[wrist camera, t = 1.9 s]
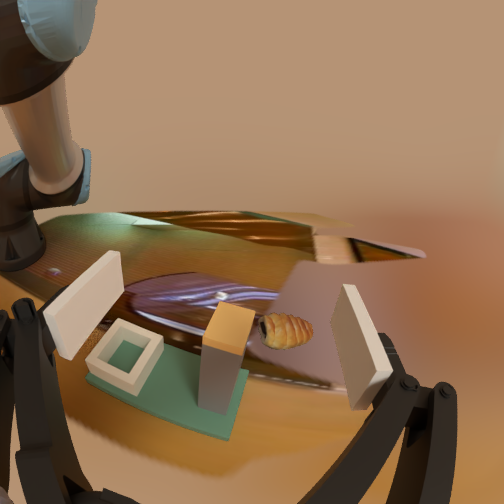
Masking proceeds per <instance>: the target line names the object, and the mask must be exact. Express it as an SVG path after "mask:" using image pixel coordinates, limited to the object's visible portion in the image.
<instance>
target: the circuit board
mask: <svg viewBox="0 0 504 504" xmlns="http://www.w3.org/2000/svg"><path fill="white" fill-rule="evenodd" d="M144 350H145V349H144V348H141V347H139V346H137V345H134V344H132V343H130V342H127V341H125V340H123V341H122V343H121V344H120V346H119V347H118V348H117V350H116V351H115V352H114V354H113V355H112V357H111V358H110V359H109V361H108V362H107V363H108V364H110V365H112V366H114V367H116V368H118V369H120V370H122V371H124V372H126V373H128V374H129V373H130V372H131V370H132V368H133V367H134V365H135V364H136V362H137V361H138V359H139V357H140V356H141V354H142V353H143V351H144ZM200 364H201V356H199V355H196V354H193V353H190V352H187V351H184V350H181V349H179V348H176V347H173V346H171V345H168V344H165V343H164V350H163V352H162V354H161V355H160V357H159V359H158V361H157V362H156V364H155V366H154V368H153V369H152V371H151V373H150V374H149V376H148V378H147V380H146V381H145V383H144V385H143V387H142V388H141V390H140V392H139V394H138V395H137V397H136V396H134V395H132V394H130V393H128V392H126V391H124V390H122V389H120V388H118V387H116V386H114V385H112V384H110V383H108V382H106V381H104V380H103V379H101V378H99V377H97V376H95V375H93V374H92V373H90V371H89V372H88V374H87V375H86V377H85V379H86V381H87V382H88V383H90V384H91V385H93V386H95V387H97V388H98V389H100V390H102V391H104V392H106V393H108V394H109V395H111V396H113V397H115V398H117V399H119V400H121V401H123V402H125V403H127V404H129V405H131V406H133V407H136V408H138V409H140V410H142V411H144V412H147V413H149V414H151V415H153V416H156V417H158V418H161V419H163V420H166V421H168V422H171V423H173V424H176V425H179V426H181V427H184V428H187V429H190V430H193V431H195V432H198V433H202V434H205V435H208V436H211V437H214V438H218V439H221V440H225V441H228V440H229V437H230V434H231V431H232V428H233V424H234V421H235V418H236V414H237V411H238V407H239V404H240V401H241V397H242V394H243V390H244V387H245V383H246V380H247V376H248V373H249V371H248V370H245V369H241V368H240V371H239V374H238V378H237V382H236V385H235V388H234V392H233V395H232V398H231V401H230V404H229V407H228V410H227V413H226V416H225V415H221V414H218V413H215V412H212V411H208V410H205V409H202V408H199V407H198V392H199V378H200Z"/></svg>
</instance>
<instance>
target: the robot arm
mask: <svg viewBox="0 0 504 504" xmlns="http://www.w3.org/2000/svg"><path fill="white" fill-rule="evenodd" d="M96 5H97V0H0V107H2V109H3V111H4V114H5V116H6V118H7V120H8V123H9V125H10V127H11V129H12V131H13V133H14V135H15V137H16V139H17V141H18V143H19V145H20V147H21V149H22V150H19V151H16V152H13V153H10V154H8V155H6V156H3V157H1V158H0V270H3V271H16V270H20V269H23V268H25V267H27V266H29V265H31V264H33V263H34V262H36V261H37V260H38V259H39V258H40V257H41V256H42V255H43V253H44V252H45V249H46V243H45V238H44V235H43V233H42V231H41V230H40V228H39V226H38V224H37V222H36V220H35V218H34V213H33V210H38V209H45V208H52V207H61V206H70V205H72V206H76V205H77V204H82V203H85V202H86V201H87V200H88V198H89V189H90V188H89V187H90V186H89V184H90V172H91V152H90V150H88V149H84V148H82V149H81V148H80V147H79V145H78V144H77V143H76V142H74V141H73V140H72V136H71V130H70V124H69V117H68V109H67V100H66V90H65V77H64V74H65V72H66V71H67V70H68V69H69V67H70V66H71V64H72V63H73V60H74V58H75V57H77V56H79V55H80V54H81V53H82V52H83V51H84V50H85V48H86V46H87V44H88V42H89V39H90V36H91V32H92V28H93V23H94V18H95V7H96ZM123 292H124V285H123V277H122V268H121V258H120V252H117V251H111V250H109V251H108V252H107V253H106V254H105V255H103V256H102V257H101V258H100V259H99V260H98V261H96V262H95V263H94V264H93V265H92V266H91V267H90V268H89V269H87V270H86V271H85V272H84V273H83V274H82V275H81V276H80V277H78V278H77V279H76V280H75V281H74V282H73V283H72V284H71V285H70V286H69V285H67V286H65V287H63V288H61V289H60V290H59V291H58V292H57V293H55V295H53V296H52V297H51V298H50V300H48V301H47V302H46V303H45V304H44V305H43V306H42V307H41V308H40V309H39V310H38V311H36V308H35V305H34V302H33V300H32V299H30V298H22V299H19V300H17V301H15V302H14V303H13V305H12V307H11V309H12V312H13V315H14V317H15V319H10V318H9V316H8V313H7V311H5V310H0V504H14V503H13V501H12V500H11V499H9V496H8V489H9V478H10V477H9V476H10V443H11V430H12V429H11V428H12V420H13V412H14V405H15V409H16V418H17V419H16V420H17V428H18V435H19V441H20V450H19V451H16V454H15V459H16V465H17V469H18V474H19V477H20V482H21V485H22V489H23V492H24V496H25V499H26V502H27V504H140V503H138V502H136V501H134V500H133V499H131V498H128V497H126V496H123V495H120V494H117V493H115V492H113V491H110V490H108V489H105V488H103V491H102V492H101V491H93V489H92V487H91V485H90V484H89V482H88V480H87V479H86V477H85V476H84V474H83V472H82V470H81V468H80V465H79V462H78V459H77V456H76V453H75V450H74V447H73V443H72V440H71V436H70V433H69V430H68V426H67V422H66V418H65V413H64V409H63V404H62V400H61V395H60V389H59V384H58V377H57V371H56V364H55V357H54V354H53V351H54V350H55V348H57V351H58V353H59V355H60V356H61V357H63V358H66V359H68V360H70V361H71V360H72V359H73V357H74V356H75V354H76V353H77V352H78V350H79V349H80V348H81V346H82V345H83V343H84V342H85V341H86V339H87V338H88V337H89V335H90V334H91V333H92V331H93V330H94V329H95V327H96V326H97V325H98V323H99V322H100V321H101V319H102V318H103V317H104V316H105V314H106V313H107V312H108V310H109V309H110V308H111V307H112V305H113V304H114V303H115V302H116V300H117V299H118V298H119V297H120V295H121V294H122V293H123ZM330 323H331V327H332V331H333V335H334V339H335V342H336V346H337V350H338V354H339V358H340V362H341V367H342V371H343V375H344V379H345V384H346V388H347V393H348V397H349V402H350V407H351V410H366V409H367V408H368V407H369V405H370V404H371V403H372V405H373V408H374V409H373V411H372V412H371V413H370V414H369V416H368V417H367V418H366V419H365V421H364V424H363V425H362V427H361V428H360V430H359V431H358V432H357V434H356V435H355V437H354V438H353V439H352V441H351V442H350V443H349V445H348V446H347V448H346V449H345V450H344V451H343V453H342V454H341V455H340V456H339V458H338V459H337V460H336V461H335V463H334V464H333V465H332V466H331V467H330V469H329V470H328V471H327V472H326V473H325V474H324V476H323V477H322V478H321V479H320V480H319V481H318V482H317V483H316V485H315V486H314V487H313V488H312V489H311V490H310V491H309V492H308V493H307V494H306V495H305V496H304V497H303V498H302V499H301V500H300V501H299V502H298V503H297V504H358V503H359V501H360V500H361V498H362V497H363V496H364V494H365V493H366V491H367V490H368V488H369V487H370V486H371V484H372V483H373V481H374V480H375V478H376V476H377V475H378V473H379V472H380V470H381V468H382V467H383V465H384V464H385V462H386V460H387V458H388V457H389V455H390V453H391V451H392V450H393V448H394V446H395V444H396V442H397V440H398V438H399V436H400V434H401V432H402V430H403V428H404V427H405V433H404V438H403V443H402V448H401V452H400V456H399V460H398V464H397V468H396V472H395V475H394V479H393V483H392V486H391V489H390V493H389V495H388V498H387V501H386V504H449V502H450V497H451V491H452V484H453V478H454V470H455V460H456V447H457V394H456V391H455V389H454V388H453V387H452V386H451V385H450V384H448V383H446V382H439V383H438V384H436V386H435V387H434V388H433V389H432V388H427V387H422V386H420V384H419V382H418V381H417V379H416V378H414V377H413V376H410V375H408V374H406V372H405V370H404V367H403V365H402V363H401V361H400V358H399V356H398V355H397V352H396V350H395V349H394V345H393V343H392V341H391V339H390V338H389V337H388V336H387V335H386V334H385V333H377V331H376V329H375V327H374V325H373V322H372V320H371V318H370V316H369V314H368V312H367V310H366V307H365V305H364V303H363V301H362V299H361V297H360V295H359V293H358V291H357V289H356V287H355V285H348V284H343V285H342V288H341V291H340V294H339V298H338V300H337V303H336V307H335V310H334V312H333V315H332V318H331V321H330ZM1 350H2V351H3V353H2V355H1Z"/></svg>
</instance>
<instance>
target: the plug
mask: <svg viewBox="0 0 504 504" xmlns="http://www.w3.org/2000/svg"><path fill="white" fill-rule="evenodd" d="M255 312H256V311H253V310H250V309H246V308H242V307H239V306H235V305H232V304H228V303H225V302H222V301H220V302H219V304H218V306H217V308H216V310H215V312H214V314H213V316H212V319H211V321H210V323H209V325H208V327H207V329H206V331H205V333H204V335H203V340H202V352H201V364H200V378H199V392H198V407H199V408H202V409H205V410H208V411H212V412H215V413H218V414H221V415H225V416H226V413H227V410H228V407H229V404H230V401H231V398H232V395H233V392H234V388H235V385H236V382H237V378H238V374H239V371H240V367H241V364H242V360H243V356H244V353H245V349H246V345H247V342H248V338H249V334H250V331H251V327H252V323H253V319H254V316H255Z"/></svg>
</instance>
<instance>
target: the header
mask: <svg viewBox="0 0 504 504" xmlns="http://www.w3.org/2000/svg"><path fill="white" fill-rule="evenodd" d="M123 340H125V341H127V342H130V343H132V344H134V345H137V346H139V347H141V348H144V349H145V350H144V351H143V353H142V354H141V356H140V357H139V359H138V361H137V362H136V364H135V365H134V367H133V368H132V370H131V372H130V373H129V374H128V373H126V372H124V371H122V370H120V369H118V368H116V367H114V366H112V365H110V364H108V363H107V362H108V361H109V359H110V358H111V357H112V355H113V354H114V352H115V351H116V350H117V348H118V347H119V346H120V344H121V343H122V341H123ZM163 350H164V343H163V336H161V335H159V334H156V333H154V332H151V331H149V330H146V329H144V328H141V327H139V326H136V325H134V324H131V323H129V322H127V321H124V320H122V319H120V318H118V319H117V320H116V321H115V322H114V324H113V325H112V326H111V327H110V329H109V330H108V331H107V332H106V334H105V335H104V336H103V337H102V339H101V340H100V341H99V342H98V344H97V345H96V346H95V347H94V349H93V350H92V351H91V353H90V354H89V355H88V357H87V358H86V359H85V362H86V364H87V366H88V368H89V371H90V373H92V374H93V375H95V376H97V377H99V378H101V379H103V380H104V381H106V382H108V383H110V384H112V385H114V386H116V387H118V388H120V389H122V390H124V391H126V392H128V393H130V394H132V395H134V396H136V397H137V395H138V394H139V392H140V390H141V388H142V387H143V385H144V383H145V381H146V380H147V378H148V376H149V374H150V373H151V371H152V369H153V368H154V366H155V364H156V362H157V361H158V359H159V357H160V355H161V354H162V352H163Z"/></svg>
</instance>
